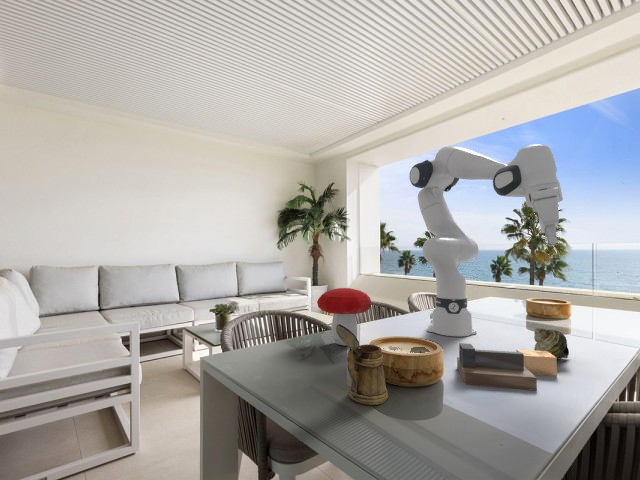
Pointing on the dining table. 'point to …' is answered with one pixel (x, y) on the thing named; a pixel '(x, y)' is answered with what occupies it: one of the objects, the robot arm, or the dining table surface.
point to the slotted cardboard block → (540, 362)
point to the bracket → (494, 368)
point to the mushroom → (344, 308)
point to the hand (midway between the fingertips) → (552, 244)
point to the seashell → (551, 342)
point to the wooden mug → (364, 370)
